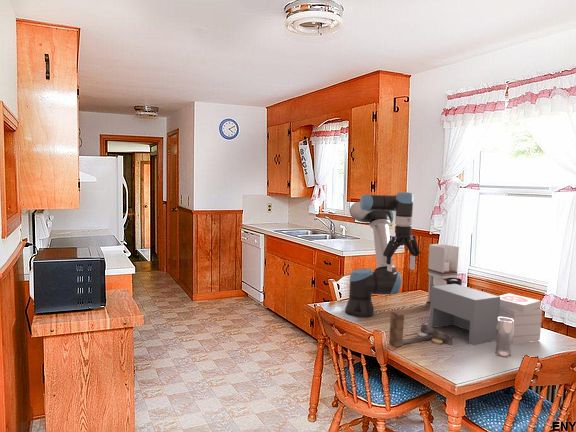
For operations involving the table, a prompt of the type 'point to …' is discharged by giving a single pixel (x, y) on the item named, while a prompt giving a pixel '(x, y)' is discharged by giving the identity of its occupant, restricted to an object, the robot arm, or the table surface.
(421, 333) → the steel token
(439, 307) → the grey cabinet
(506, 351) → the beer glass
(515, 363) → the table surface
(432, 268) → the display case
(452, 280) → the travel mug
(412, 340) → the brown upright bracket
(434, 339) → the brass token
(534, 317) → the stacked pizza boxes
